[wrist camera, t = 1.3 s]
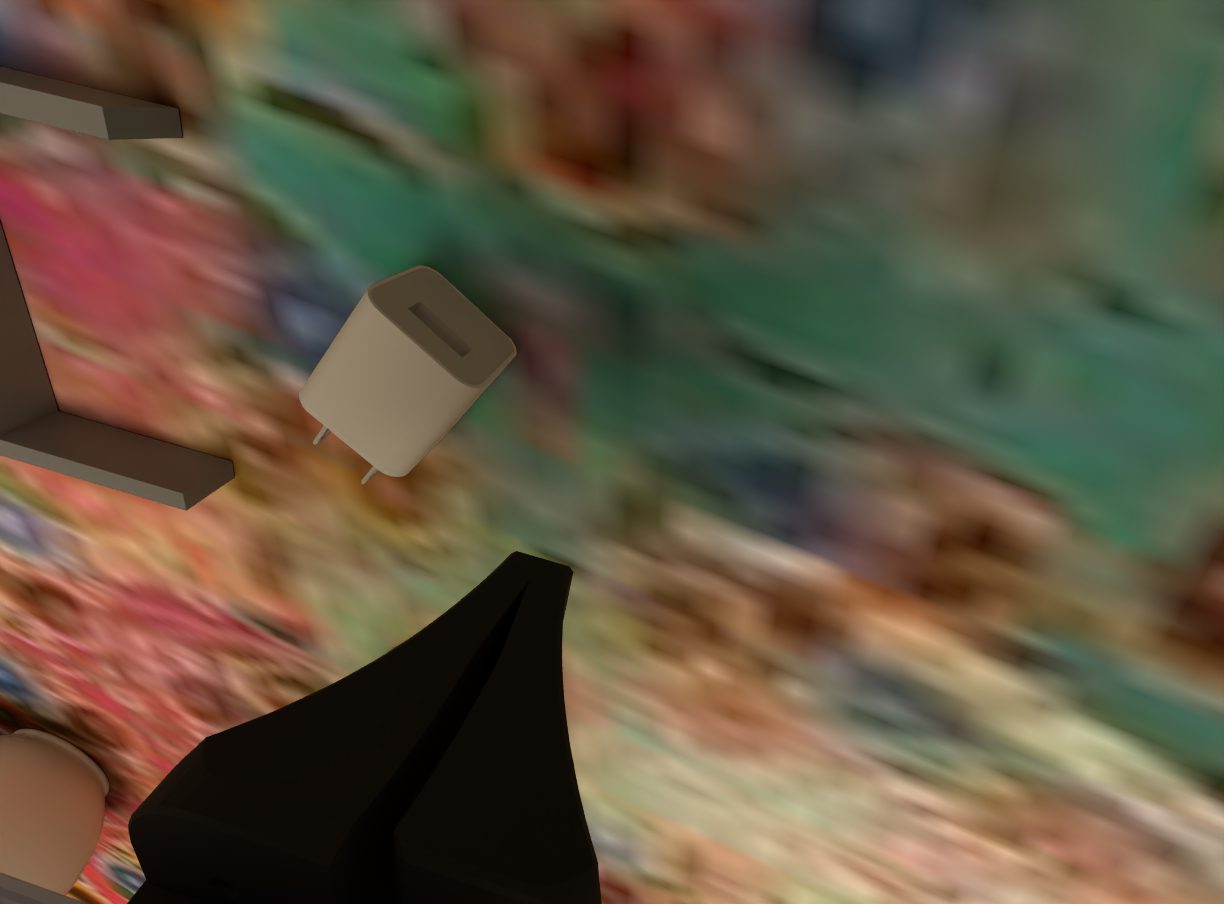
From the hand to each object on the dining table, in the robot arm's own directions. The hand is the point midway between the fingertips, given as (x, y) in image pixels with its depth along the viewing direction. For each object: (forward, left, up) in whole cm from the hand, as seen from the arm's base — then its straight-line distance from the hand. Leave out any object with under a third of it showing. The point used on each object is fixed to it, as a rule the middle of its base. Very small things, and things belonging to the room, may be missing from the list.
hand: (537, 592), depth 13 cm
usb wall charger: (0, +7, -9) cm, 11 cm away
